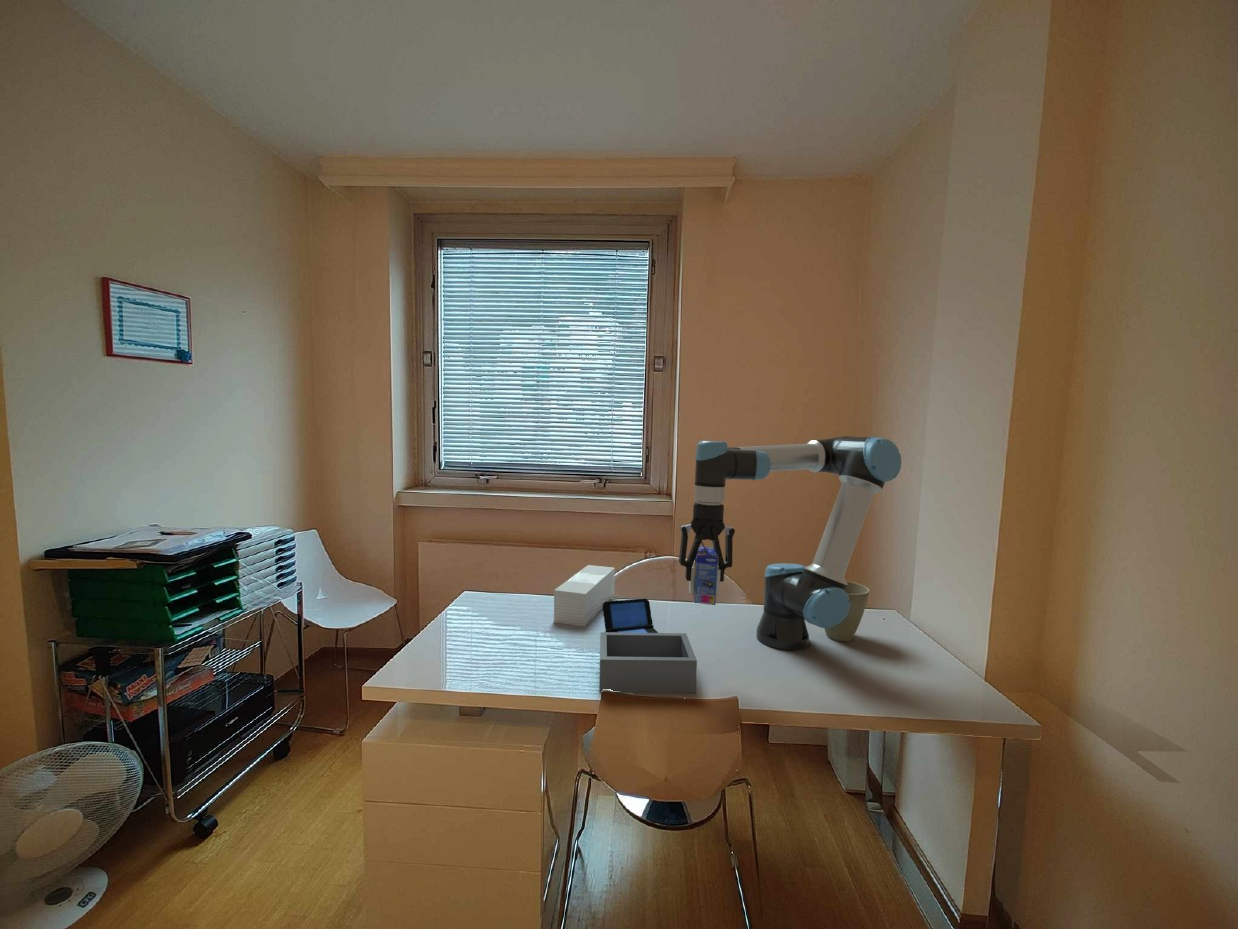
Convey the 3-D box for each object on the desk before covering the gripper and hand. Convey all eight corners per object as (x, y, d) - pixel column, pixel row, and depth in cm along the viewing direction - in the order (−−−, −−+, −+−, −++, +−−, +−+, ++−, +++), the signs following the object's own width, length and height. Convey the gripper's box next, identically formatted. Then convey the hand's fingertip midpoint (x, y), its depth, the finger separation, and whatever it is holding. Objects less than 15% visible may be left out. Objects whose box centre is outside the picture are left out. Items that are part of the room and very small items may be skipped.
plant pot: (860, 651, 147) (863, 597, 146) (807, 637, 156) (810, 586, 155) (870, 635, 159) (874, 585, 158) (821, 623, 168) (824, 576, 167)
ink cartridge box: (691, 591, 134) (695, 536, 133) (712, 593, 133) (717, 538, 132) (693, 603, 124) (698, 545, 123) (715, 605, 124) (721, 547, 123)
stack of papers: (584, 627, 160) (585, 593, 160) (553, 622, 163) (554, 590, 162) (614, 595, 191) (614, 567, 190) (587, 592, 194) (588, 564, 193)
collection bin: (685, 662, 137) (686, 633, 137) (695, 693, 121) (696, 660, 121) (599, 661, 137) (600, 632, 136) (599, 692, 121) (600, 659, 120)
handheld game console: (614, 648, 145) (614, 617, 145) (600, 630, 158) (601, 601, 157) (664, 642, 150) (665, 612, 150) (647, 625, 163) (648, 597, 162)
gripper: (741, 502, 131) (736, 590, 133) (669, 499, 131) (664, 587, 132) (750, 506, 124) (744, 599, 125) (673, 503, 123) (668, 597, 125)
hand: (703, 593), depth 129 cm, fingers closed on ink cartridge box, 6 cm apart
